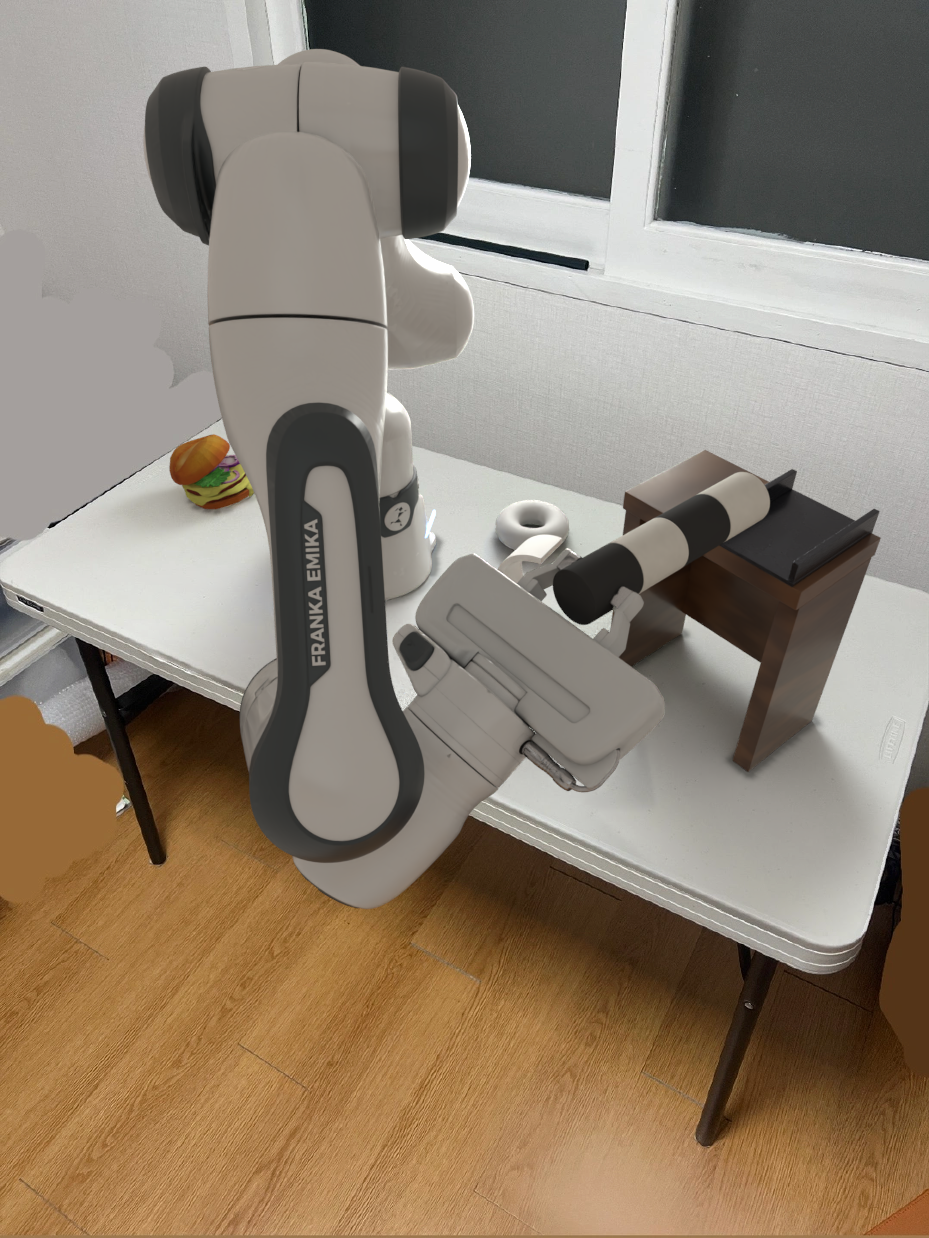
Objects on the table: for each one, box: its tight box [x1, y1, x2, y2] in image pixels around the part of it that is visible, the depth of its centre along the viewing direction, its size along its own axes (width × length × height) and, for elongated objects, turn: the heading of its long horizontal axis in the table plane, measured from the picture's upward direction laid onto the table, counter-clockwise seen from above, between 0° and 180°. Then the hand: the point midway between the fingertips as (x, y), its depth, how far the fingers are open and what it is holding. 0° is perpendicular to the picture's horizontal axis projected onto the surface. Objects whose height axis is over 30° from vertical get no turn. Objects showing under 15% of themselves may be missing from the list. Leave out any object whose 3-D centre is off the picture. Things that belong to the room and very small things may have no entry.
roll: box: [552, 472, 770, 626], centre depth 69 cm, size 20×4×4 cm, turn 129°
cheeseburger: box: [169, 433, 255, 510], centre depth 127 cm, size 10×11×10 cm
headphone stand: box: [496, 535, 563, 583], centre depth 105 cm, size 5×6×12 cm
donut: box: [494, 499, 570, 551], centre depth 120 cm, size 10×4×10 cm
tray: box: [719, 468, 881, 587], centre depth 80 cm, size 9×12×2 cm
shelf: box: [610, 449, 882, 773], centre depth 91 cm, size 20×12×24 cm, turn 39°
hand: (605, 574), depth 65 cm, fingers closed on roll, 4 cm apart
